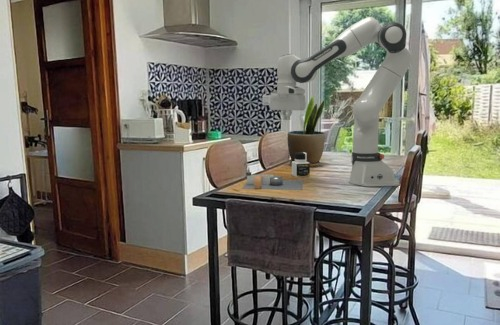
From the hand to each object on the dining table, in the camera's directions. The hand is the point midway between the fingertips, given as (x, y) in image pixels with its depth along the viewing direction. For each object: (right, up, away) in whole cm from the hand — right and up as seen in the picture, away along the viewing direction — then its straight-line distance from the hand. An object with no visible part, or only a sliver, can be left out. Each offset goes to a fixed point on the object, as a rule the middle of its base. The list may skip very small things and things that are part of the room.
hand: (286, 120), depth 201 cm
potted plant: (+15, -22, +47) cm, 54 cm away
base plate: (-6, -31, -8) cm, 32 cm away
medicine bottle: (+8, -27, +16) cm, 33 cm away
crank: (-11, -30, -8) cm, 33 cm away
